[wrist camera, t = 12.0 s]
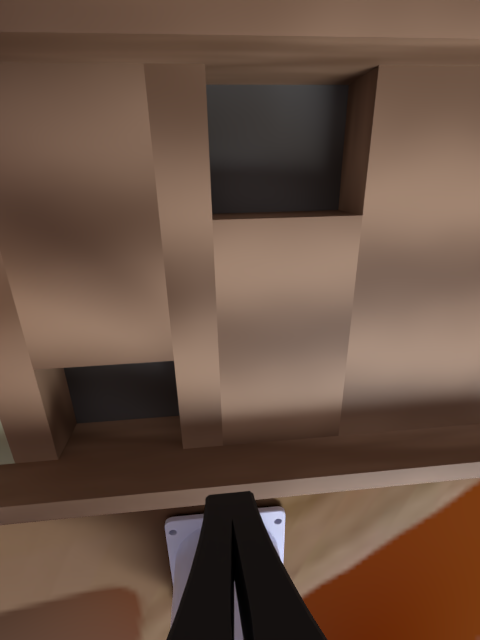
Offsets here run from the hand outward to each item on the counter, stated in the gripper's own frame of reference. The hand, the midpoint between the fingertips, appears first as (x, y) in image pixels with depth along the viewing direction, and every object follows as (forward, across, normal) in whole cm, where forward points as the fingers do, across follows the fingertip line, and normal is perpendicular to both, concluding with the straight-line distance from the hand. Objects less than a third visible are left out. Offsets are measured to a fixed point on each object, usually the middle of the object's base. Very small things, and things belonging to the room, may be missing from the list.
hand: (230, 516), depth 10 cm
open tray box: (+9, 0, -5) cm, 11 cm away
